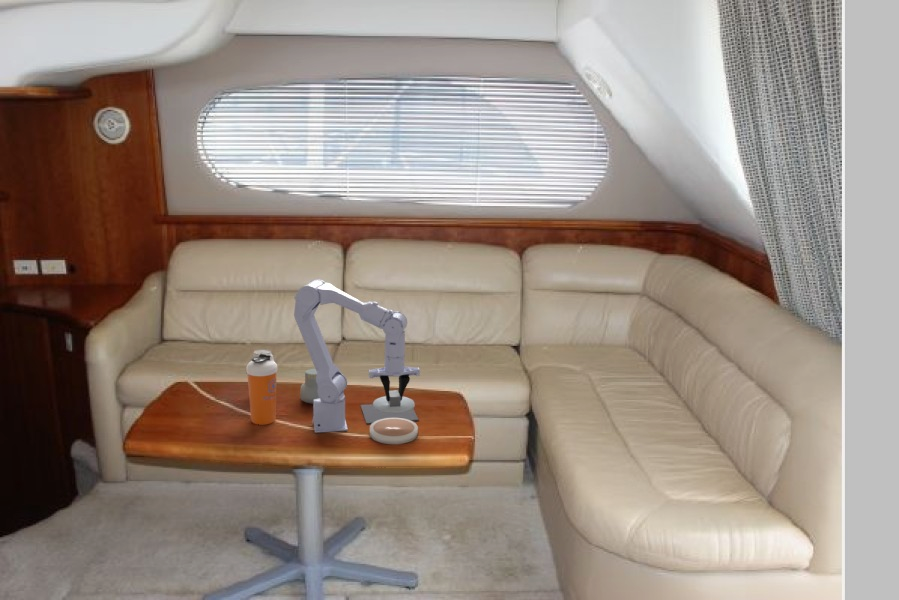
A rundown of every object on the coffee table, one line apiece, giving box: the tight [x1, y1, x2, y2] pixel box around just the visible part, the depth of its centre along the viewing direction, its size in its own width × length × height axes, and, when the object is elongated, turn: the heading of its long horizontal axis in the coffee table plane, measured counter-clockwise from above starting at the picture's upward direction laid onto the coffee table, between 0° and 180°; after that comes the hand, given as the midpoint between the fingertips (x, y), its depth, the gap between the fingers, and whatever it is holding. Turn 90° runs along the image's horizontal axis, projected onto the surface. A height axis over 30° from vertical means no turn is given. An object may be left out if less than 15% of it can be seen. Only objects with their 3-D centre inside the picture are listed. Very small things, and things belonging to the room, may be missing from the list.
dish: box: [369, 418, 419, 445], centre depth 212 cm, size 14×14×2 cm
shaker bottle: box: [245, 354, 278, 426], centre depth 216 cm, size 9×9×20 cm
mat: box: [360, 403, 420, 425], centre depth 227 cm, size 16×14×1 cm
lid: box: [372, 389, 416, 413], centre depth 210 cm, size 12×12×4 cm
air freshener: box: [299, 368, 320, 405], centre depth 233 cm, size 11×8×10 cm
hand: (393, 399), depth 210 cm, fingers closed on lid, 3 cm apart
